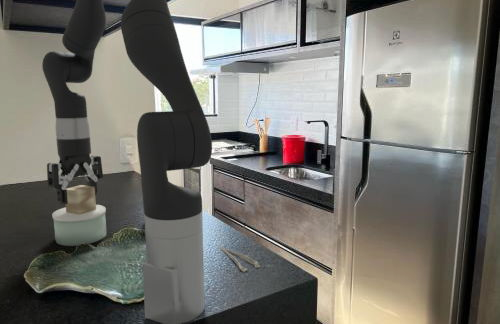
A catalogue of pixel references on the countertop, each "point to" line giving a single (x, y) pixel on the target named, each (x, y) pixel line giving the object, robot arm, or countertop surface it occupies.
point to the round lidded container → (79, 226)
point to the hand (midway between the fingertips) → (78, 199)
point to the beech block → (80, 199)
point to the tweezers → (241, 258)
